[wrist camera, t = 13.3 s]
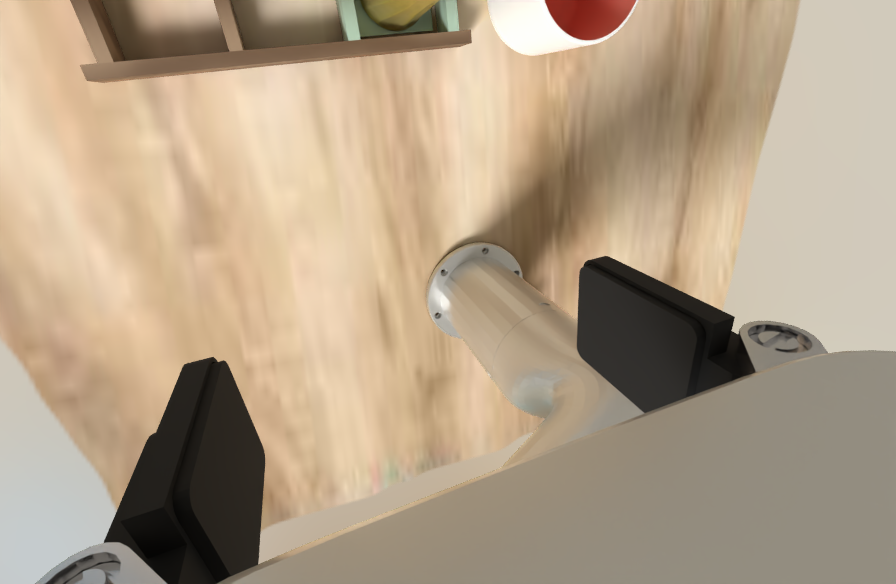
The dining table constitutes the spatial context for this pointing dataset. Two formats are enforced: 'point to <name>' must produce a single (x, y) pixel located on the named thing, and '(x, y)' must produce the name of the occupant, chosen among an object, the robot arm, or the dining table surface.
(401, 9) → the vase
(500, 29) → the cup
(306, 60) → the wooden compartment tray
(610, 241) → the dining table surface
